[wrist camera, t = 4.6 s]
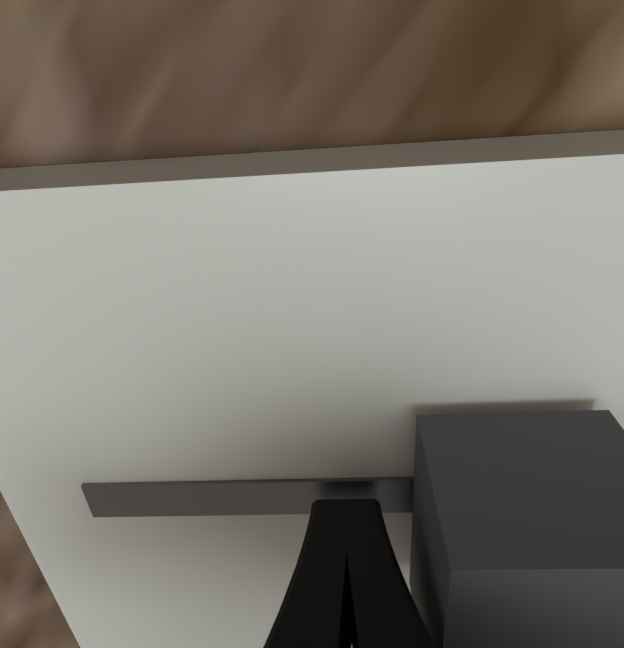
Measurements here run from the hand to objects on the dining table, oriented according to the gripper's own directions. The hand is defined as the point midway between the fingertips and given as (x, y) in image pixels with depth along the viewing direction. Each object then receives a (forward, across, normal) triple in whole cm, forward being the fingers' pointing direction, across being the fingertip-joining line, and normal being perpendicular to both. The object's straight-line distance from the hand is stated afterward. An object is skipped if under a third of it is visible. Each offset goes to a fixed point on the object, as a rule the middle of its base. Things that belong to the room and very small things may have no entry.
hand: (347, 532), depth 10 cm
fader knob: (+1, -3, 0) cm, 3 cm away
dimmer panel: (+3, -5, 0) cm, 6 cm away
